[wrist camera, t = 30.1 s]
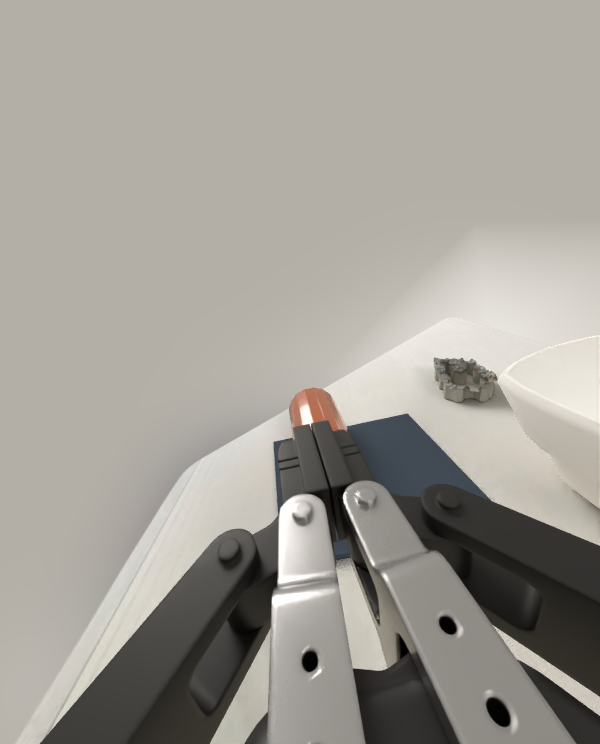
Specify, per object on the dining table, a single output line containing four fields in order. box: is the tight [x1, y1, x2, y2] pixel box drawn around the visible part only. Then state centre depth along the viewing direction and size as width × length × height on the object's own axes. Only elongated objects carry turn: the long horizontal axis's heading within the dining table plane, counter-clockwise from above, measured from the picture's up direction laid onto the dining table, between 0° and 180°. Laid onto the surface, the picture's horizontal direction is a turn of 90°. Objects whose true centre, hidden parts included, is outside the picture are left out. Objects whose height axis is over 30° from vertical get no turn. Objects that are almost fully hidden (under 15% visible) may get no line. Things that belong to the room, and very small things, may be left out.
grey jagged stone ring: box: [434, 358, 497, 402], centre depth 46 cm, size 11×8×4 cm
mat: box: [274, 414, 491, 560], centre depth 32 cm, size 20×18×1 cm
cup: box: [289, 388, 349, 440], centre depth 35 cm, size 7×7×11 cm
